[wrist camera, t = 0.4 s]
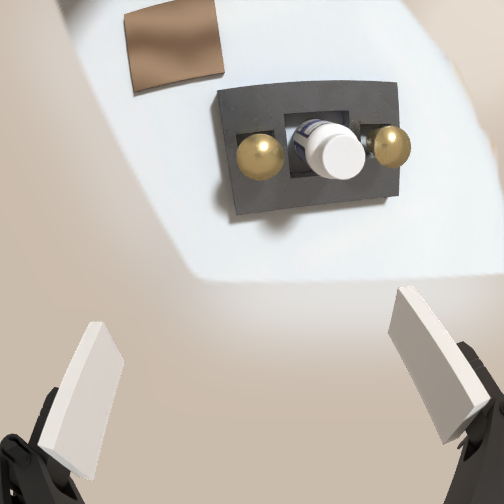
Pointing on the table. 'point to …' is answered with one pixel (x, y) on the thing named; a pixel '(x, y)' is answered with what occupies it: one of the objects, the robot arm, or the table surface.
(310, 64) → the table surface
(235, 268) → the table surface
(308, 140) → the pill bottle
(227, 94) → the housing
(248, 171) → the plunger
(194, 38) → the coaster
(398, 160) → the plunger
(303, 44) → the table surface
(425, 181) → the table surface
